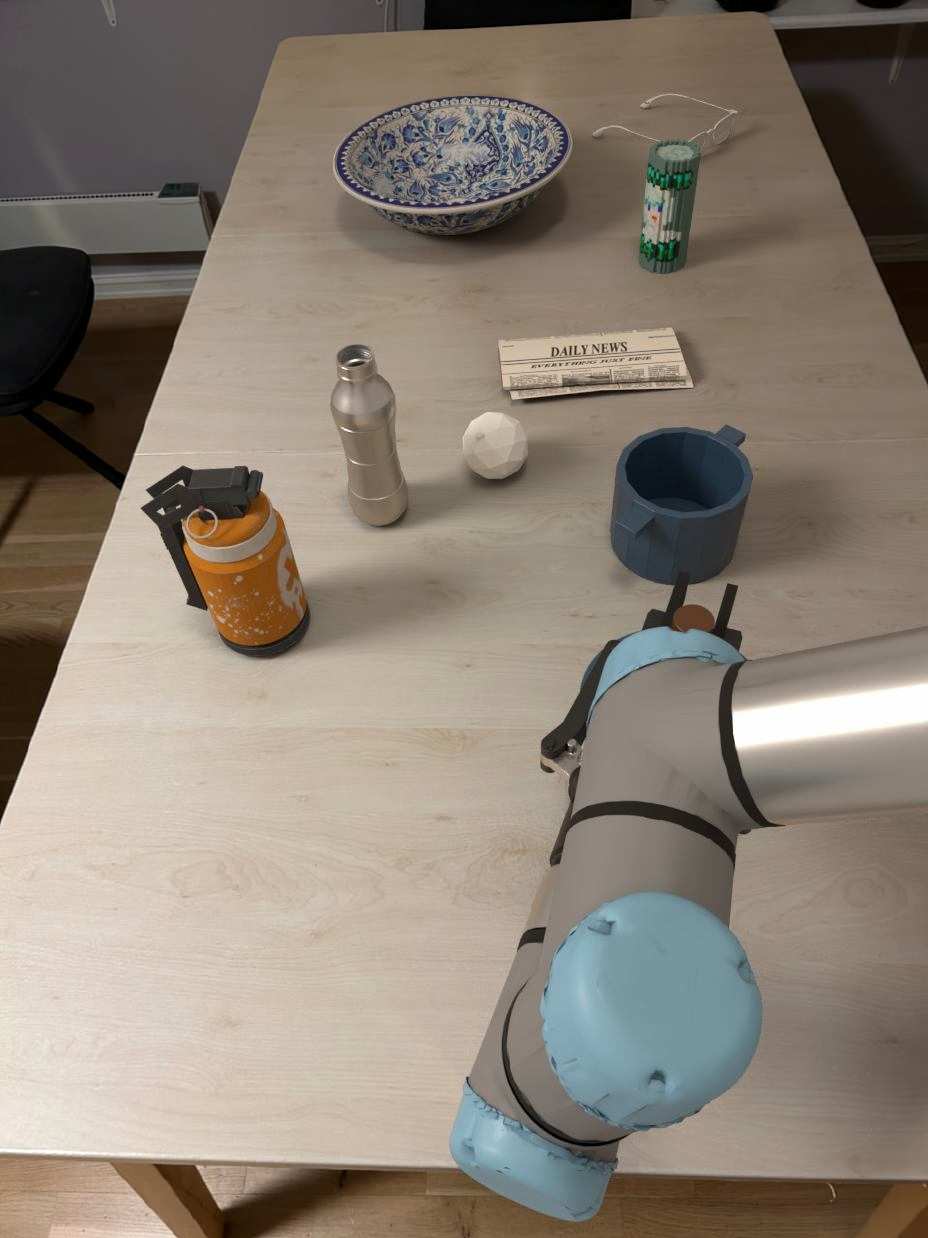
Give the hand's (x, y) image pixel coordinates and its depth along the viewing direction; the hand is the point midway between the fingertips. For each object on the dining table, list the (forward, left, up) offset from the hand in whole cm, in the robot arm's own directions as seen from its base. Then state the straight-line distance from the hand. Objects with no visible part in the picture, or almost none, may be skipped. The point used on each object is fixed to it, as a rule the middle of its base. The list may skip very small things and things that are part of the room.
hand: (705, 591), depth 65 cm
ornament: (+35, -16, -21) cm, 44 cm away
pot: (+14, -20, -21) cm, 32 cm away
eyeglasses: (+68, -92, -21) cm, 117 cm away
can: (+46, -62, -21) cm, 80 cm away
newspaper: (+38, -37, -21) cm, 57 cm away
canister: (+38, +16, -21) cm, 46 cm away
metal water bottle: (+40, -3, -21) cm, 46 cm away
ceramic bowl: (+78, -54, -21) cm, 98 cm away
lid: (-2, +5, -6) cm, 8 cm away
